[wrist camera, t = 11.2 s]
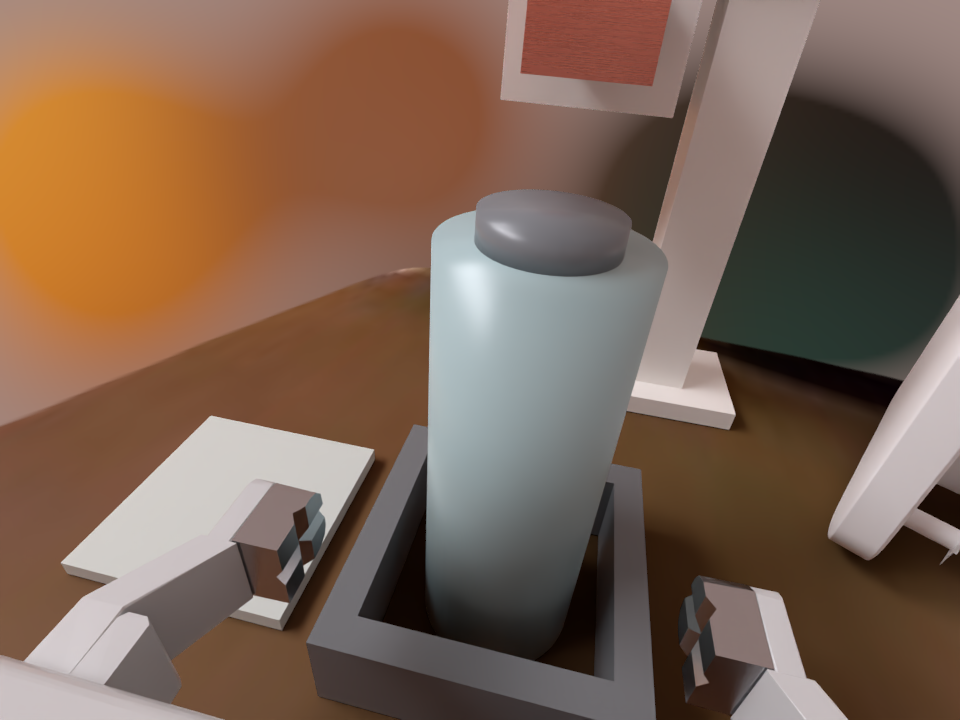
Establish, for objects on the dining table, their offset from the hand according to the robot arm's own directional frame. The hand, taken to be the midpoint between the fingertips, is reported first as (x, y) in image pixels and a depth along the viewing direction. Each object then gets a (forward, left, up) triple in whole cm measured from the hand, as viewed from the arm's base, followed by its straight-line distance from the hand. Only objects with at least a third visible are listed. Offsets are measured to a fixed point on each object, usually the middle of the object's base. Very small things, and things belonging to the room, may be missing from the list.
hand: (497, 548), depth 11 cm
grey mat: (+11, -5, -7) cm, 14 cm away
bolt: (0, -22, +8) cm, 23 cm away
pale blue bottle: (0, -4, -8) cm, 8 cm away
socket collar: (0, -4, -7) cm, 8 cm away
